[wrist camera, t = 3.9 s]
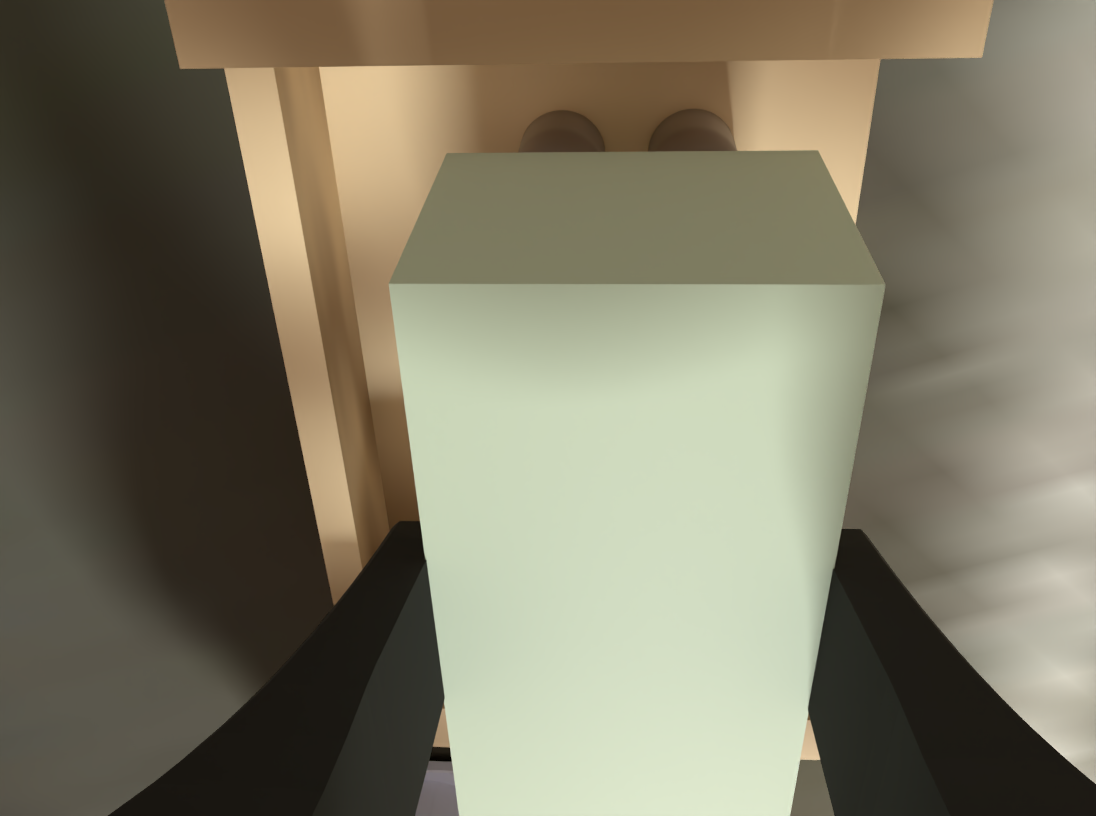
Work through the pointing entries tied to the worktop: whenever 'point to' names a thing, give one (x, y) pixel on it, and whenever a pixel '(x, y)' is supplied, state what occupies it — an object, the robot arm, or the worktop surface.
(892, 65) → the worktop surface
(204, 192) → the worktop surface
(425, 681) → the robot arm
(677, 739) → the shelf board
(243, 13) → the peg cradle
